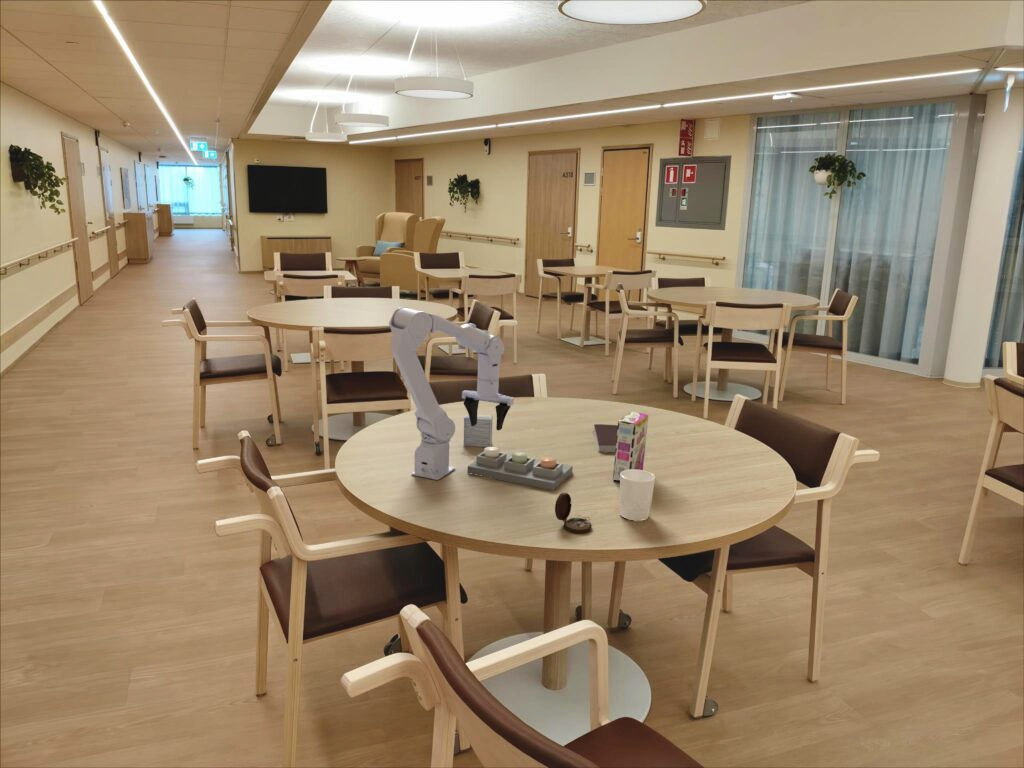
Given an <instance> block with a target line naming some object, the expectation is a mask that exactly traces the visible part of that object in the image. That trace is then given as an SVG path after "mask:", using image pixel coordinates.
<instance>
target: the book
mask: <svg viewBox="0 0 1024 768" xmlns="http://www.w3.org/2000/svg"><path fill="white" fill-rule="evenodd" d="M593 427H594V429H593V431H592V435H593V437H594V440H595V444H596V447H598V448H597V452H598V451H599V452H598V453H608V452H615V451H616V440H617V429H618V424H598V423H595V424H594V425H593Z"/></svg>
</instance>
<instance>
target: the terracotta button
mask: <svg viewBox="0 0 1024 768" xmlns="http://www.w3.org/2000/svg"><path fill="white" fill-rule="evenodd" d="M539 460H540V467H541V468H546V469H551V470H553V469H555V468H556V463H557V459H556V458H554V457H551V456H545V457H544V456H543V457H541V458H540V459H539Z"/></svg>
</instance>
